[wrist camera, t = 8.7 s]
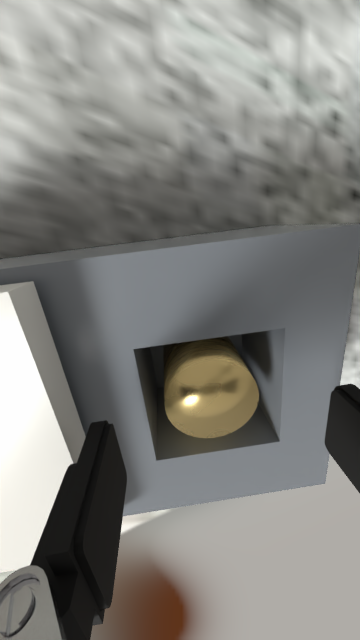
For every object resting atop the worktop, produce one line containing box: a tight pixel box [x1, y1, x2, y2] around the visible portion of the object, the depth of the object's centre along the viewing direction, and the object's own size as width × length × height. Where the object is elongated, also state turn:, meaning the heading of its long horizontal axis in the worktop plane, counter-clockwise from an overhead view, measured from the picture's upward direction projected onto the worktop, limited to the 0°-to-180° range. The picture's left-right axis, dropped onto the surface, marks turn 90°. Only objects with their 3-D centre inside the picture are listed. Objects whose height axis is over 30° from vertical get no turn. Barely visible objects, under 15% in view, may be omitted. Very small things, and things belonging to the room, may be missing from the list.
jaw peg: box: [163, 336, 259, 438], centre depth 14 cm, size 4×4×6 cm
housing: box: [0, 223, 360, 516], centre depth 15 cm, size 22×14×8 cm, turn 97°
